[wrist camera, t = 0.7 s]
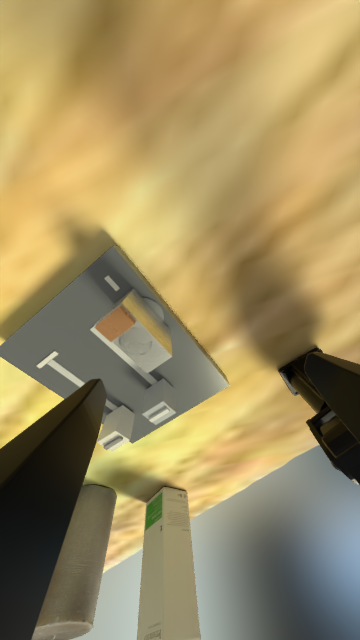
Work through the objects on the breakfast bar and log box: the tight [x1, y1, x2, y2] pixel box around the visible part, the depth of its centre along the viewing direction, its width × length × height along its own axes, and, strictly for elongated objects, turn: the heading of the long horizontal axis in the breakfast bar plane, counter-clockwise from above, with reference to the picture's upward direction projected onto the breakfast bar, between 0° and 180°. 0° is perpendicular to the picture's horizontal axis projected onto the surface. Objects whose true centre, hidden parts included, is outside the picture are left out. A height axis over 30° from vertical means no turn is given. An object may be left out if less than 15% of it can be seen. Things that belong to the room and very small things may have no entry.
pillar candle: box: [32, 485, 117, 640], centre depth 28 cm, size 10×10×15 cm
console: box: [0, 246, 230, 443], centre depth 22 cm, size 22×18×2 cm
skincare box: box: [137, 487, 201, 640], centre depth 30 cm, size 8×7×16 cm
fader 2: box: [142, 378, 176, 425], centre depth 20 cm, size 2×3×4 cm
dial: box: [94, 288, 172, 373], centre depth 15 cm, size 6×3×6 cm, turn 37°
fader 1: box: [97, 405, 135, 451], centre depth 21 cm, size 2×3×4 cm
